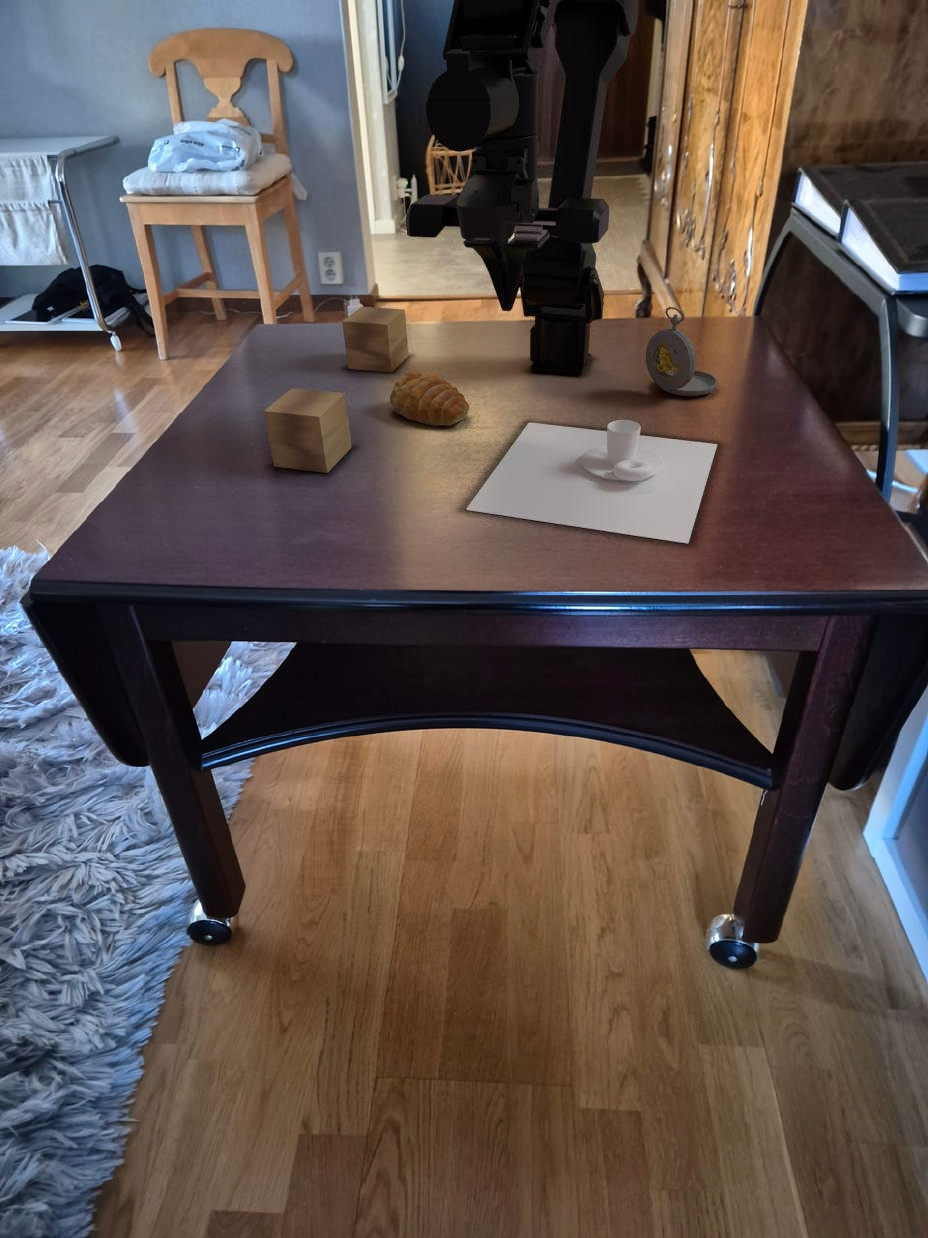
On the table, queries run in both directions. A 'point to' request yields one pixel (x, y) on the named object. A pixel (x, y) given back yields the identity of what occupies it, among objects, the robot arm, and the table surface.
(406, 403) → the pastry
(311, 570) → the table surface
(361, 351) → the block
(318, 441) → the block
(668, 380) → the pocket watch
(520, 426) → the table surface
